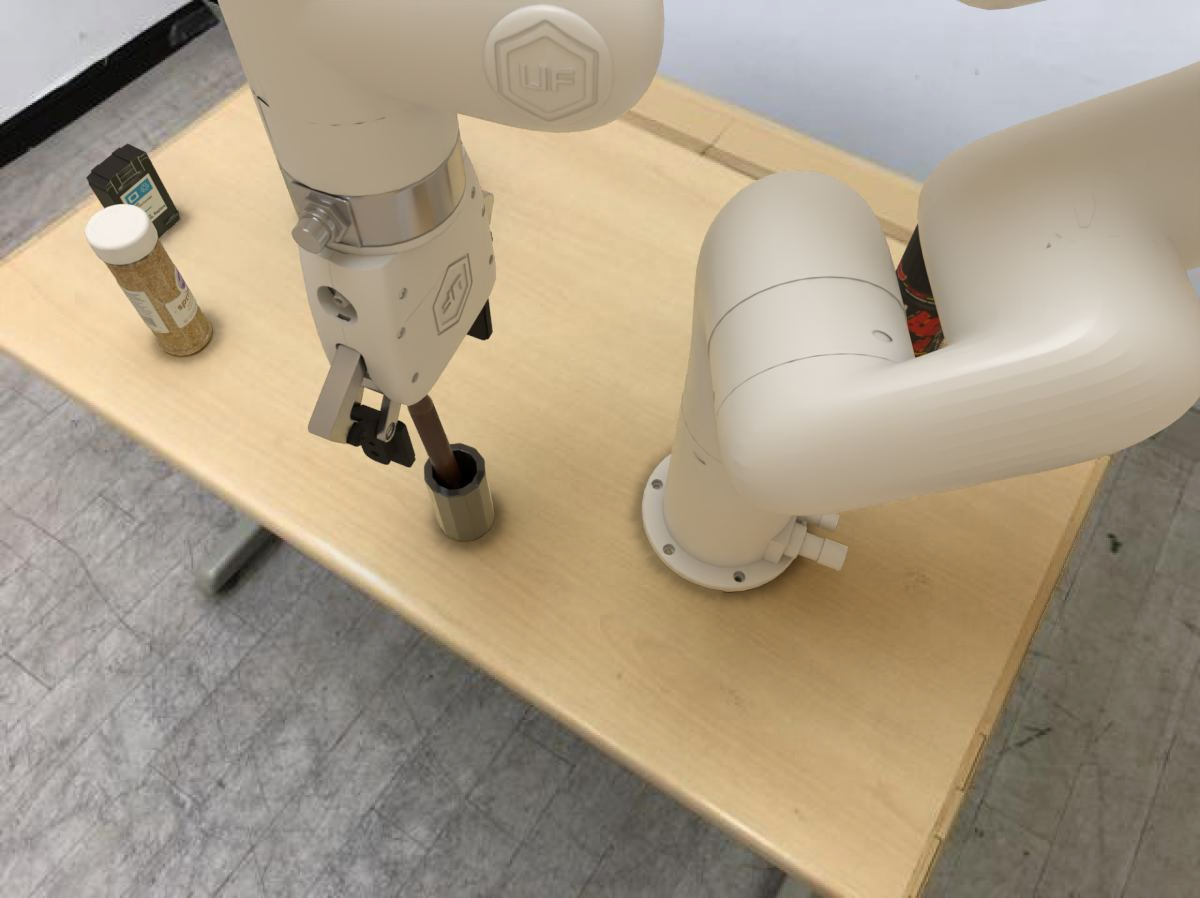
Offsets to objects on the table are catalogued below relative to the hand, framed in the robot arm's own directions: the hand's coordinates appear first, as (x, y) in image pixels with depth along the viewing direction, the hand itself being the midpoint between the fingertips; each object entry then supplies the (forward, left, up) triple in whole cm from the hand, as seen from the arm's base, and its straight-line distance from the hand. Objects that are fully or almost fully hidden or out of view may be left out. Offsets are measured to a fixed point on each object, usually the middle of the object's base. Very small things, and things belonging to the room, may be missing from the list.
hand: (430, 389), depth 52 cm
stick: (0, 0, -17) cm, 17 cm away
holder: (0, 0, -18) cm, 18 cm away
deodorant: (-27, -30, -18) cm, 44 cm away
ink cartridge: (+40, -15, -18) cm, 46 cm away
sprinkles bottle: (+30, -6, -18) cm, 35 cm away
